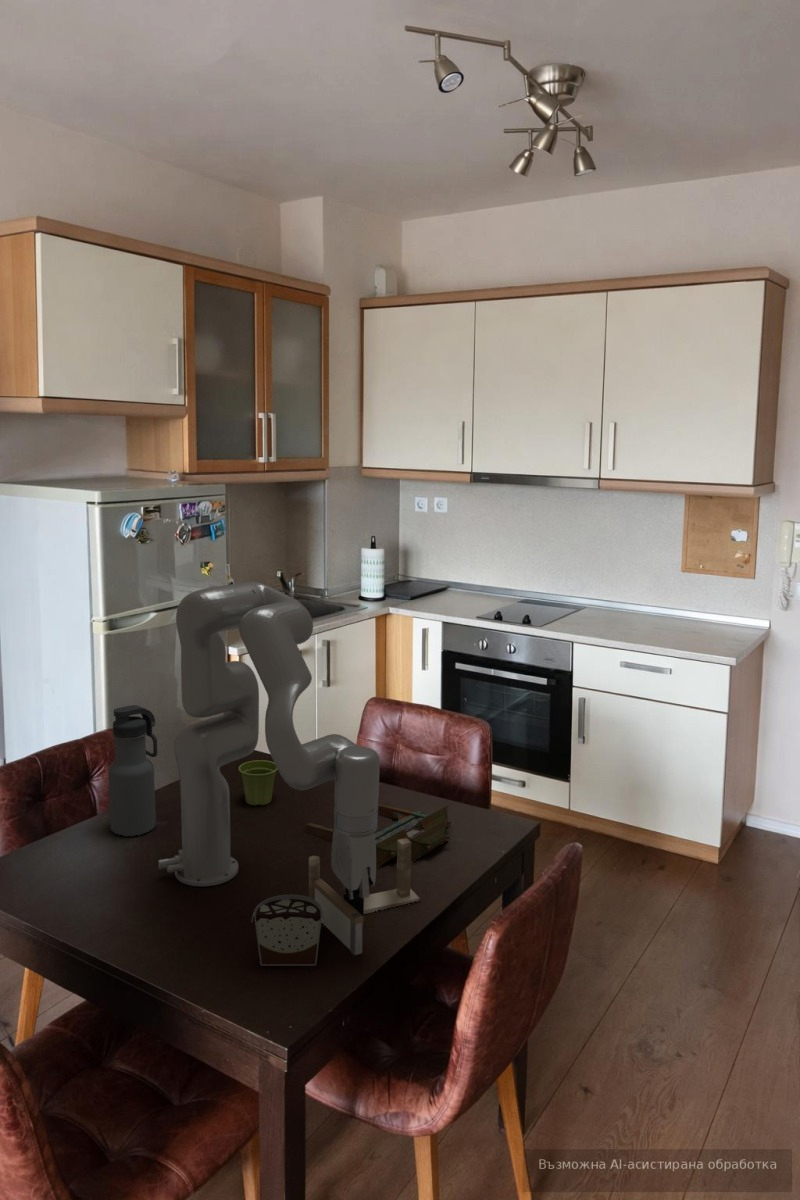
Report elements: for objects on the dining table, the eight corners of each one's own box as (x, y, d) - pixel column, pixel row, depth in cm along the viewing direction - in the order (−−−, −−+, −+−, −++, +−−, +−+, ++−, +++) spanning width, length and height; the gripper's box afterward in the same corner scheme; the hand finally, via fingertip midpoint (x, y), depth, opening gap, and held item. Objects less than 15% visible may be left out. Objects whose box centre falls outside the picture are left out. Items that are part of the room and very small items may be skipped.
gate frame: (297, 928, 166) (297, 868, 164) (289, 915, 171) (289, 856, 169) (419, 901, 177) (420, 844, 175) (408, 890, 181) (409, 833, 179)
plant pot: (286, 799, 224) (286, 765, 223) (260, 812, 216) (260, 777, 215) (256, 790, 229) (256, 757, 227) (230, 803, 221) (230, 768, 220)
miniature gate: (369, 787, 224) (473, 810, 206) (370, 808, 225) (474, 834, 207) (292, 823, 203) (401, 853, 185) (294, 847, 204) (402, 879, 186)
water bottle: (143, 815, 213) (139, 698, 208) (165, 828, 207) (162, 708, 202) (102, 828, 206) (97, 707, 201) (124, 842, 200) (119, 718, 194)
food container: (326, 945, 161) (327, 892, 160) (325, 965, 155) (325, 911, 153) (256, 945, 161) (255, 892, 159) (251, 965, 155) (250, 911, 153)
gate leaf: (313, 915, 169) (313, 880, 167) (321, 912, 170) (321, 878, 168) (354, 956, 156) (355, 919, 155) (363, 953, 157) (363, 916, 156)
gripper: (320, 804, 164) (318, 899, 167) (352, 840, 151) (349, 942, 154) (359, 798, 167) (356, 891, 171) (393, 833, 154) (390, 933, 157)
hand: (353, 915), depth 162 cm, fingers closed
